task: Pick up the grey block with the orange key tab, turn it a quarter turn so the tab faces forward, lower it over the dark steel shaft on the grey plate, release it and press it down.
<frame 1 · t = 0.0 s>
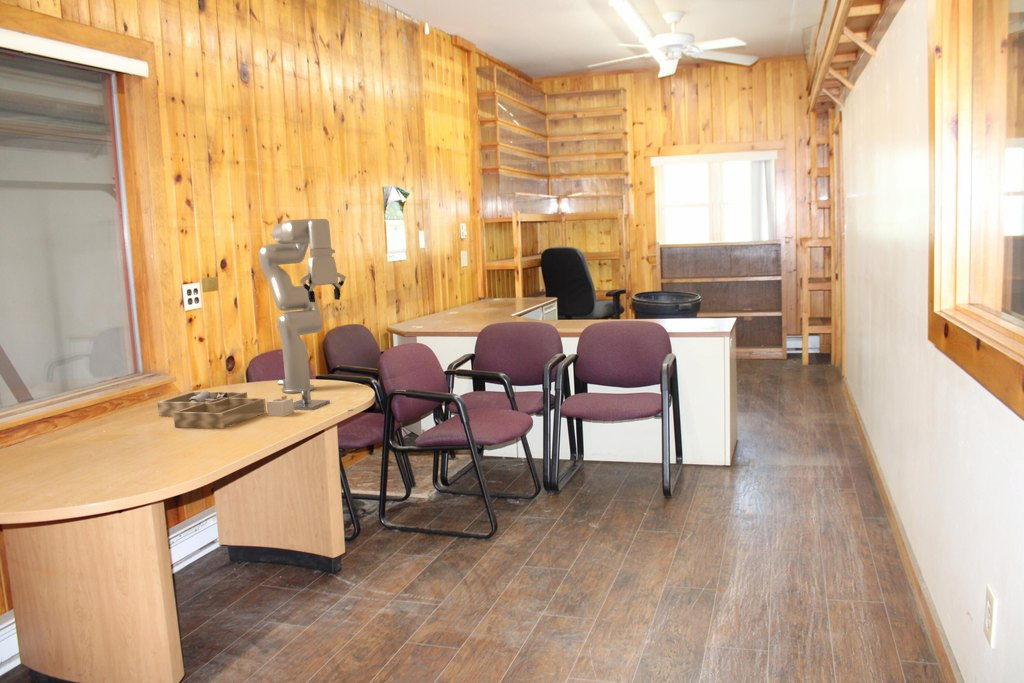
hand: (325, 300, 302), 37 cm above the table, tool pointing down, fingers open, 9 cm apart
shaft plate: (306, 406, 301), on the table
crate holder: (204, 410, 303), on the table
grey block: (281, 414, 290), on the table
clip-on lamp: (204, 410, 303), touching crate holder
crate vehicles: (221, 419, 286), on the table
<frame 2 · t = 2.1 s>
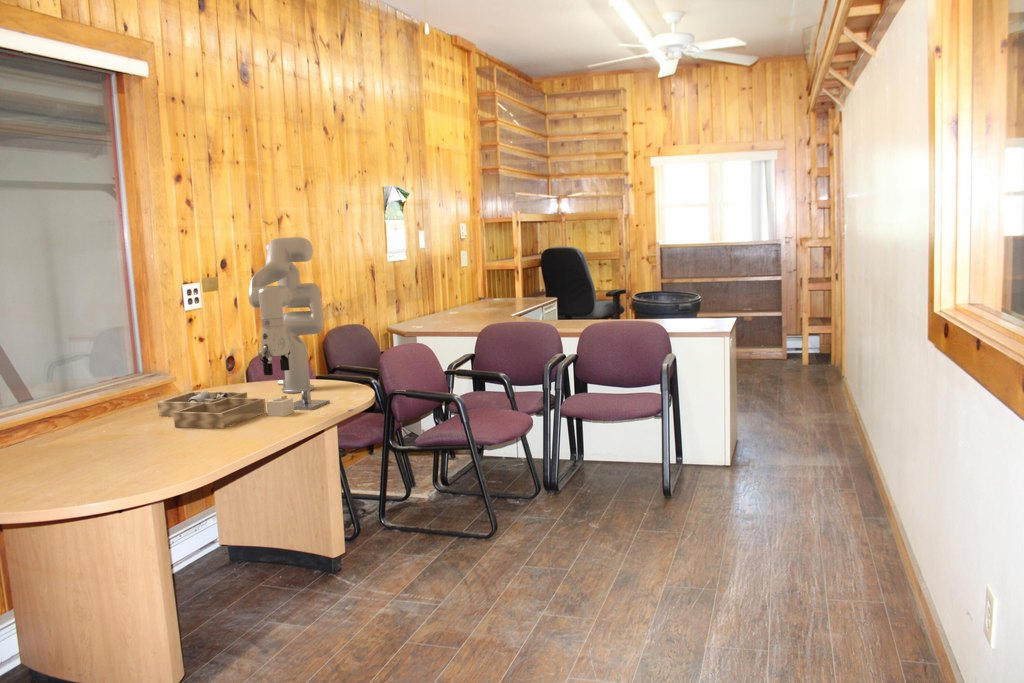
hand: (277, 372, 287), 15 cm above the table, tool pointing down, fingers open, 9 cm apart
nothing on the table moved.
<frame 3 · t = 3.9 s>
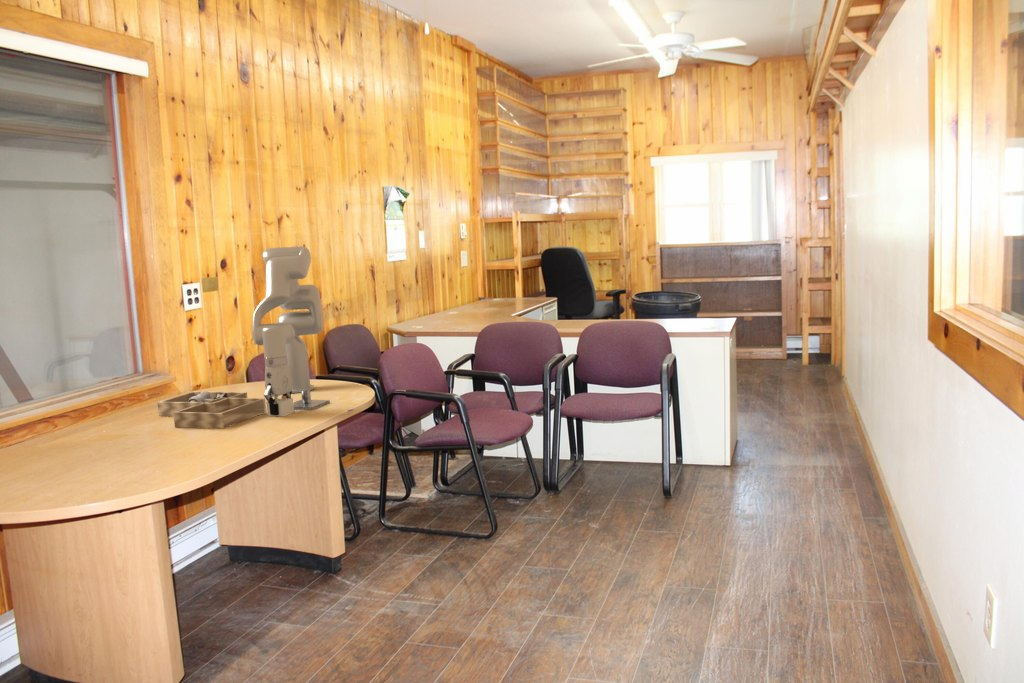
hand: (280, 412, 290), 1 cm above the table, tool pointing down, fingers closed on grey block, 6 cm apart
grey block: (280, 414, 290), on the table, touching gripper
everything else where it was.
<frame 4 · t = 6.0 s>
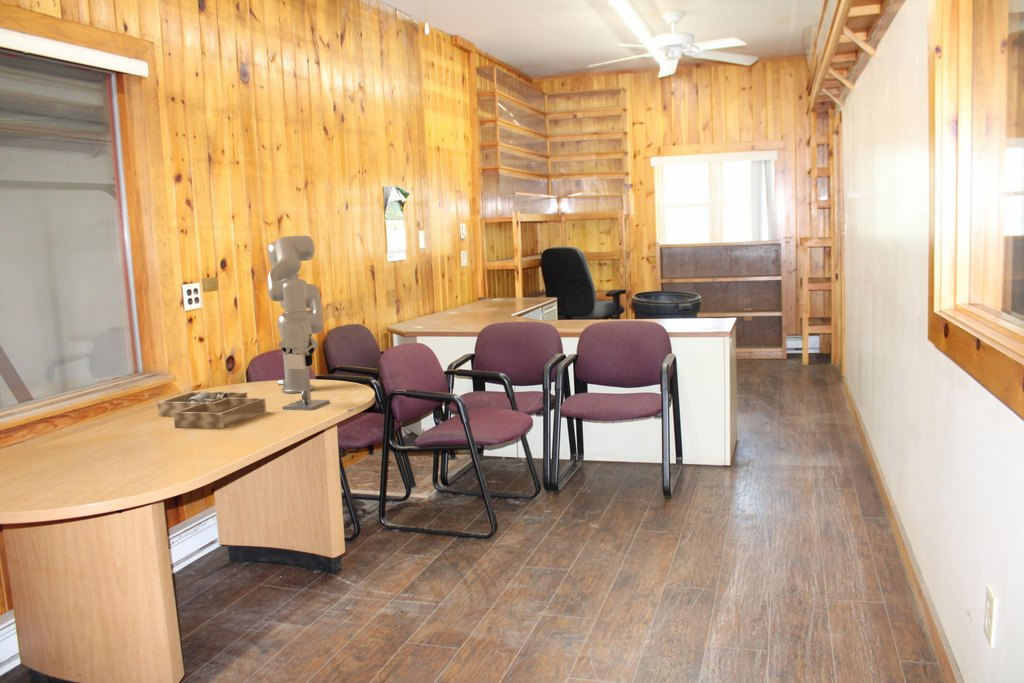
hand: (300, 365, 298), 15 cm above the table, tool pointing down, fingers closed on grey block, 6 cm apart
grey block: (300, 367, 298), point 14 cm above the table, touching gripper
everything else where it was.
when the fingers open (3 cm above the table, at t = 8.5 s): grey block drops 1 cm, resting on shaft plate.
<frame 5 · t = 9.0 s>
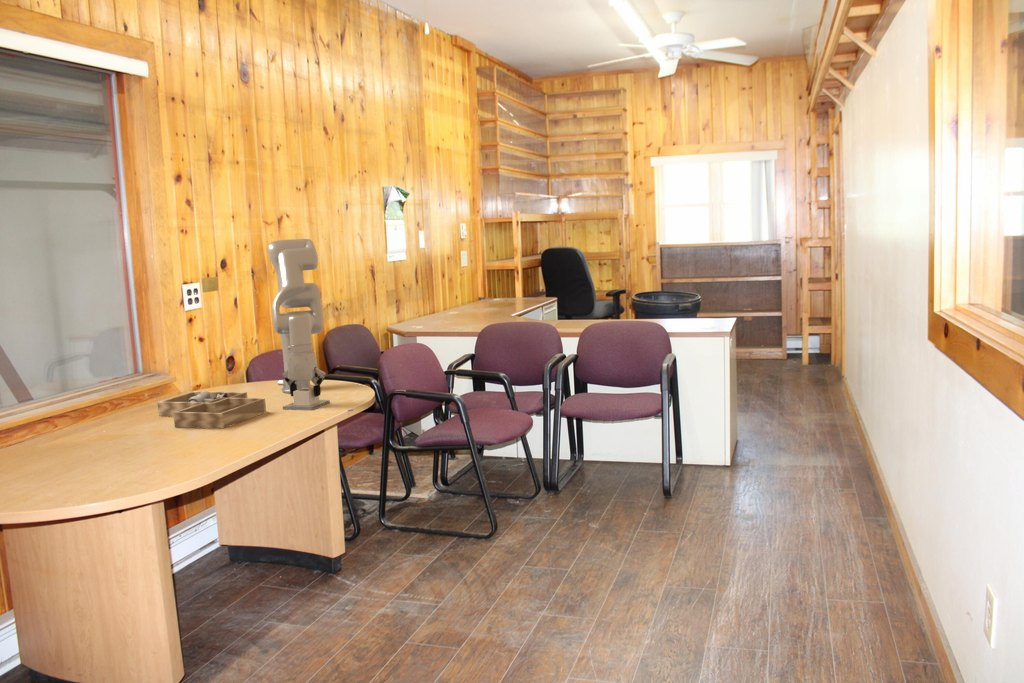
hand: (305, 395, 301), 4 cm above the table, tool pointing down, fingers open, 9 cm apart
grey block: (306, 403, 301), point 1 cm above the table, touching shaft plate
everything else where it was.
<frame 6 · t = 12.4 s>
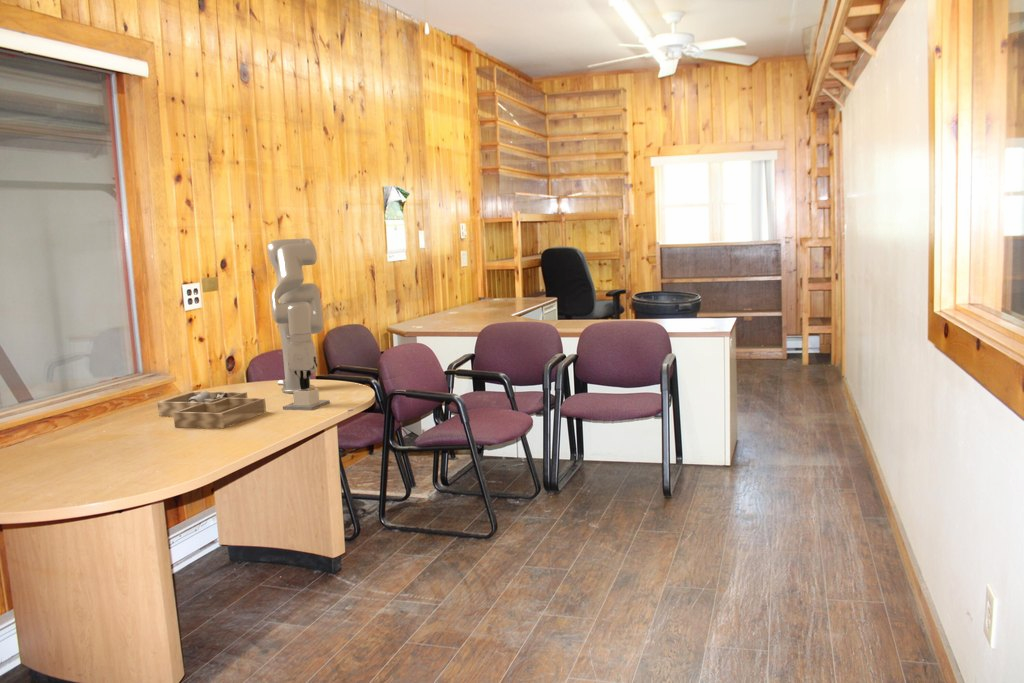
hand: (305, 388, 300), 6 cm above the table, tool pointing down, fingers closed
nothing on the table moved.
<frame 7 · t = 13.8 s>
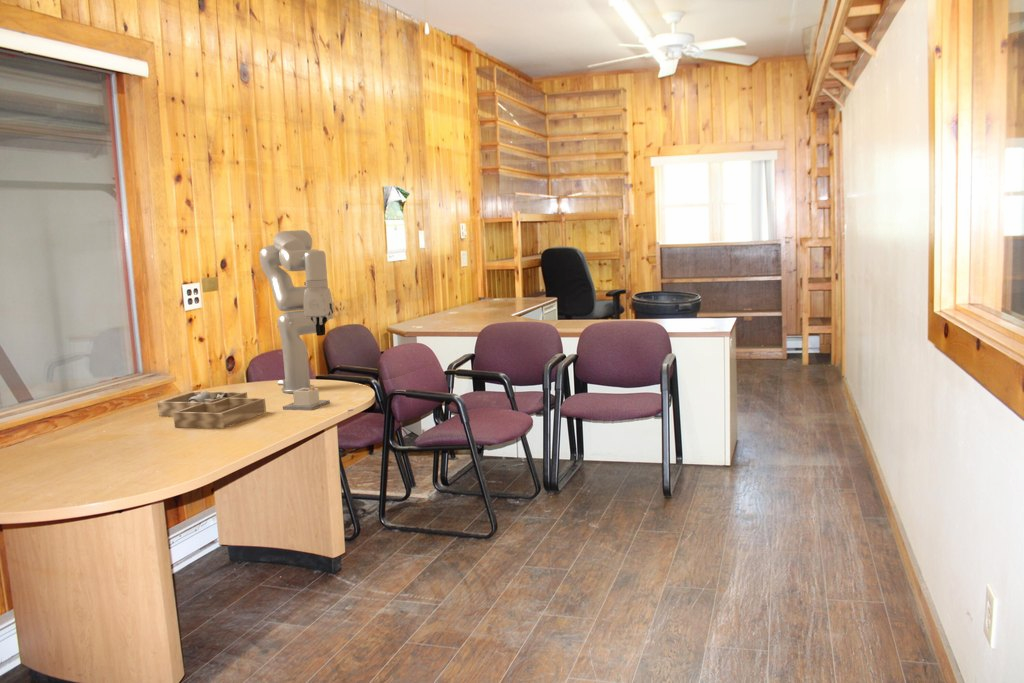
hand: (321, 335, 303), 25 cm above the table, tool pointing down, fingers closed
nothing on the table moved.
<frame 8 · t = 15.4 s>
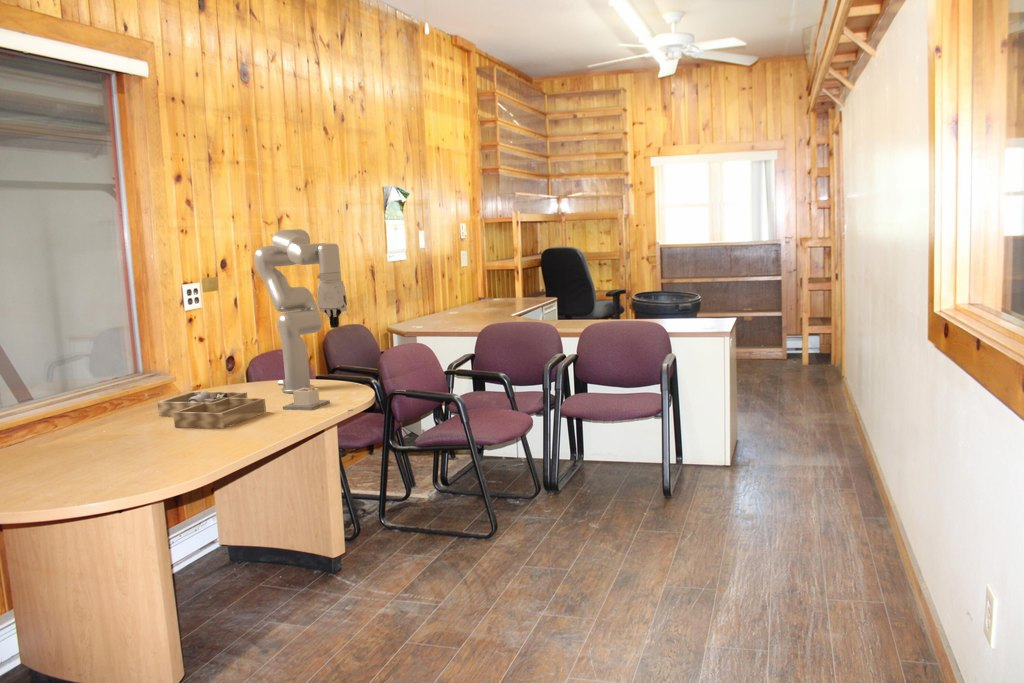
hand: (334, 327, 306), 27 cm above the table, tool pointing down, fingers closed
nothing on the table moved.
at the end: grey block 0.2 cm off-centre on the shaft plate, point 1.0 cm above the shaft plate's base; grey block tilted 0°; the gripper is holding nothing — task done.
